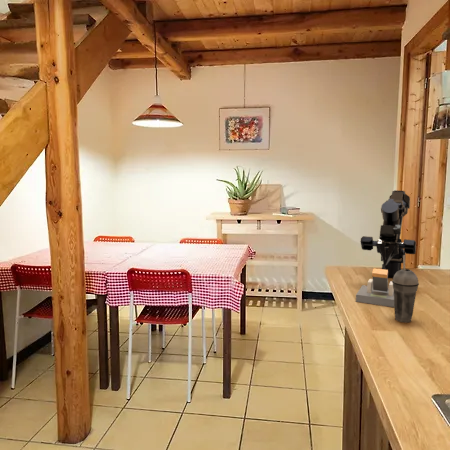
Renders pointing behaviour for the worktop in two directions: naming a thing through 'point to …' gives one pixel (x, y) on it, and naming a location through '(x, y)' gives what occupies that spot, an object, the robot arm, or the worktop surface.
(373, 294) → the breaker base
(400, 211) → the robot arm
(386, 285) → the lever
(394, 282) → the beverage cup
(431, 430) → the worktop surface
